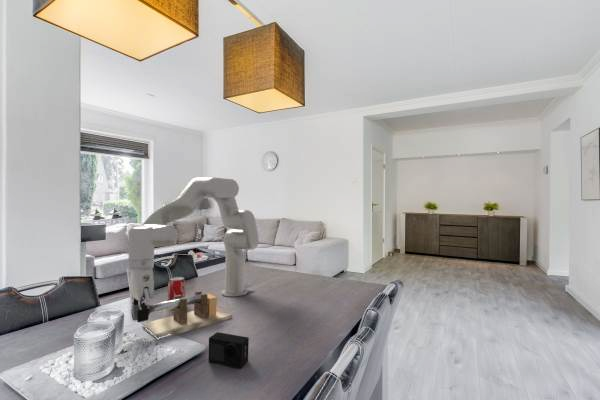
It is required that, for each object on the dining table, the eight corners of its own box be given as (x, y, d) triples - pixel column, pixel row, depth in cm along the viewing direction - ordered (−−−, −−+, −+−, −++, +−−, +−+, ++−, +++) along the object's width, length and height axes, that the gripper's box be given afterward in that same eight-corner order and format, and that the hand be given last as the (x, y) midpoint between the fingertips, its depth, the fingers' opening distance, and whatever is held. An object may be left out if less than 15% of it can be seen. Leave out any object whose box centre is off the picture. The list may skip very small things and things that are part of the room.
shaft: (199, 302, 117) (199, 290, 117) (205, 305, 114) (205, 293, 114) (131, 318, 100) (131, 303, 100) (135, 322, 96) (136, 307, 97)
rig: (213, 308, 126) (214, 284, 127) (232, 317, 117) (232, 292, 117) (142, 326, 107) (143, 298, 107) (157, 339, 97) (157, 308, 97)
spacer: (207, 310, 121) (207, 293, 121) (216, 315, 116) (216, 297, 116) (200, 312, 118) (200, 294, 119) (209, 317, 114) (209, 298, 114)
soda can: (178, 310, 124) (179, 280, 124) (163, 308, 125) (164, 279, 126) (188, 304, 131) (189, 276, 131) (173, 303, 132) (174, 275, 133)
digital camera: (205, 364, 83) (205, 339, 83) (216, 355, 88) (217, 331, 88) (238, 371, 80) (239, 345, 80) (248, 361, 85) (248, 337, 85)
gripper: (162, 266, 96) (161, 323, 96) (144, 258, 108) (143, 309, 108) (137, 269, 91) (135, 329, 91) (121, 261, 103) (119, 314, 103)
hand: (140, 318), depth 100 cm, fingers closed on shaft, 4 cm apart
